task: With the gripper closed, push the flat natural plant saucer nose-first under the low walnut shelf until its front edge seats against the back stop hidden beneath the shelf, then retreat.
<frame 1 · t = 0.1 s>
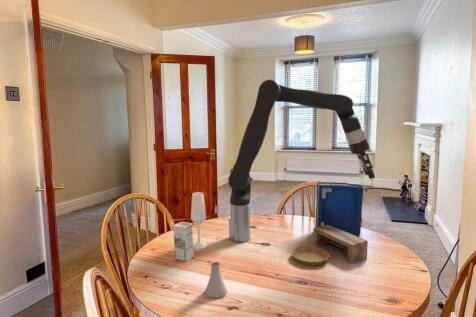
hand: (370, 176, 131), 31 cm above the table, tool tilted 20°, fingers open, 8 cm apart
plant saucer: (309, 260, 125), on the table
flask: (216, 293, 101), on the table
walnut shelf: (338, 250, 132), on the table
book: (338, 233, 152), on the table
champagne flute: (199, 245, 140), on the table
syrup box: (184, 258, 127), on the table
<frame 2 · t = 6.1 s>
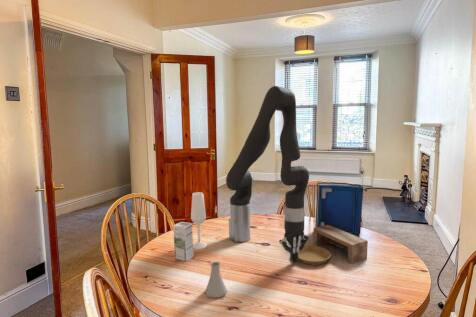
hand: (294, 261, 121), 1 cm above the table, tool pointing down, fingers closed
nothing on the table moved.
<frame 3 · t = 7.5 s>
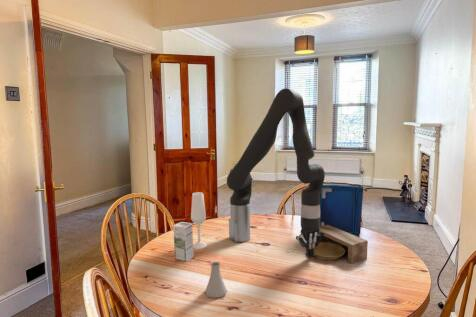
hand: (309, 256, 124), 1 cm above the table, tool pointing down, fingers closed
plant saucer: (326, 255, 129), on the table, touching gripper
everything else where it was.
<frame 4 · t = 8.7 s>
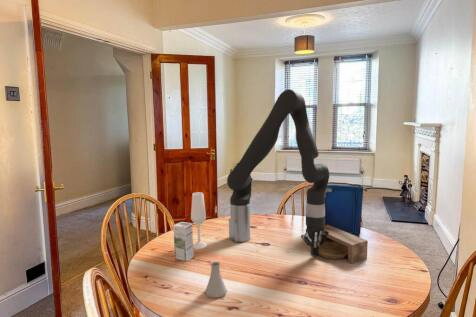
hand: (314, 255, 126), 1 cm above the table, tool pointing down, fingers closed
plant saucer: (331, 254, 130), on the table
everything else where it was.
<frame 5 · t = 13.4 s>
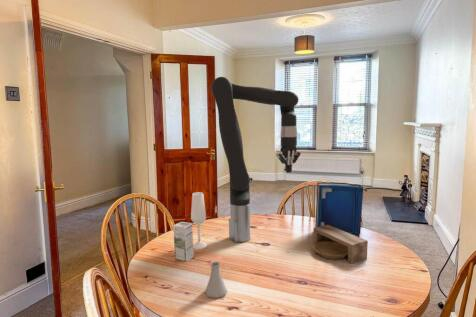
hand: (288, 172, 147), 31 cm above the table, tool pointing down, fingers closed
nothing on the table moved.
at the end: plant saucer 0.3 cm from the target spot, on the table; plant saucer tilted 0°; the gripper is holding nothing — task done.
